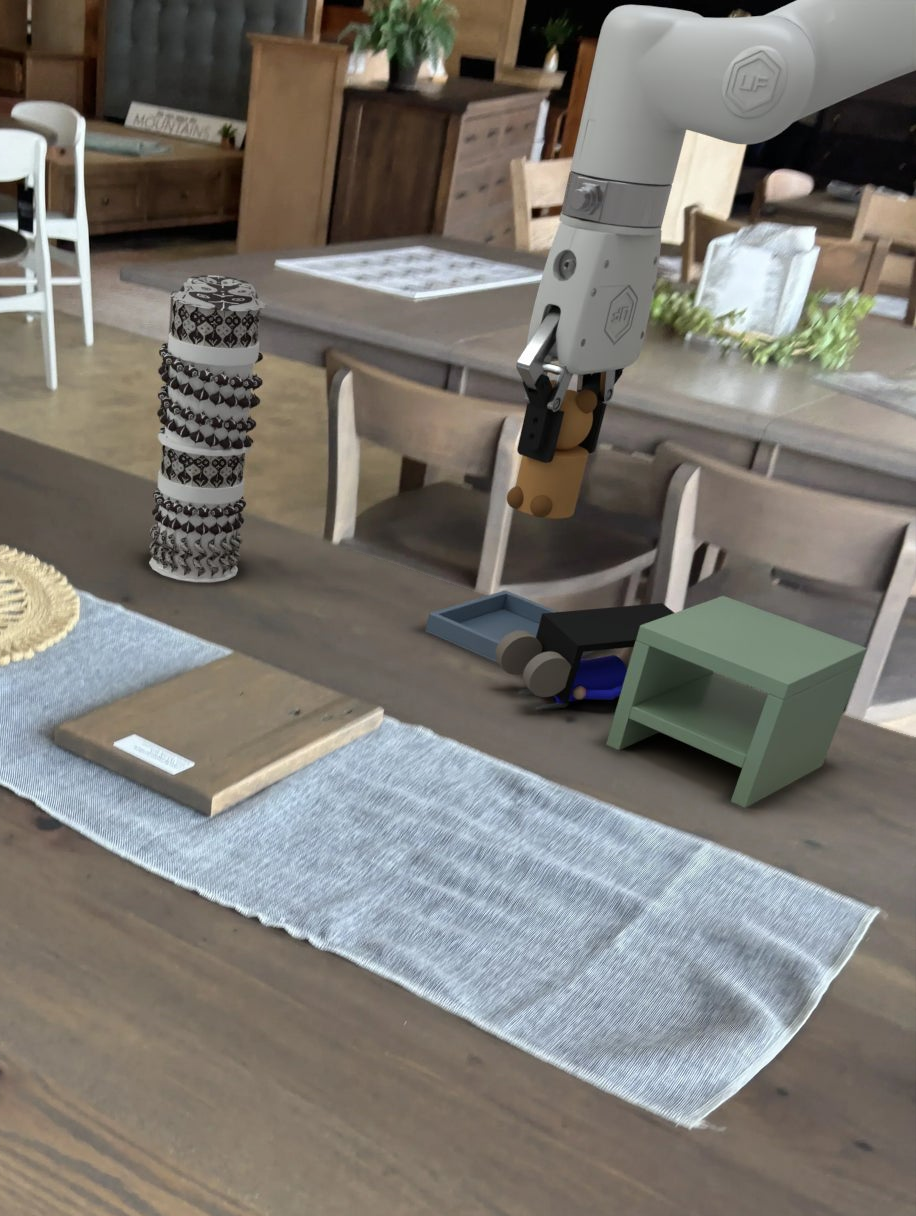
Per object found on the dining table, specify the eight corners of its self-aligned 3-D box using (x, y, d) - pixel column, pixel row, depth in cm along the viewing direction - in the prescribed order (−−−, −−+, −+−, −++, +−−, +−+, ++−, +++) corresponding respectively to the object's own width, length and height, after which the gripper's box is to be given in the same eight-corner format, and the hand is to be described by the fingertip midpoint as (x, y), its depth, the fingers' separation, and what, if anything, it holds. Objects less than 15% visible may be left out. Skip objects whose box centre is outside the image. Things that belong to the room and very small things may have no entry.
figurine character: (525, 741, 112) (689, 710, 116) (537, 652, 108) (707, 623, 111) (486, 704, 117) (643, 676, 121) (496, 618, 113) (659, 592, 116)
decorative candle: (143, 549, 137) (163, 266, 123) (238, 556, 138) (269, 275, 123) (144, 582, 129) (165, 285, 115) (244, 590, 130) (277, 295, 116)
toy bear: (535, 495, 122) (563, 374, 116) (585, 513, 119) (617, 390, 113) (495, 504, 118) (522, 380, 112) (546, 523, 115) (576, 397, 110)
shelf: (686, 712, 116) (723, 595, 111) (821, 769, 110) (868, 648, 104) (604, 747, 109) (639, 625, 103) (743, 811, 102) (789, 684, 97)
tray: (500, 610, 132) (505, 589, 131) (601, 652, 126) (607, 631, 124) (424, 634, 125) (428, 612, 124) (526, 679, 119) (532, 657, 118)
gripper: (591, 217, 98) (531, 480, 109) (716, 212, 108) (650, 453, 119) (505, 198, 103) (455, 453, 113) (633, 195, 113) (576, 430, 123)
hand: (556, 451), depth 116 cm, fingers closed on toy bear, 5 cm apart
